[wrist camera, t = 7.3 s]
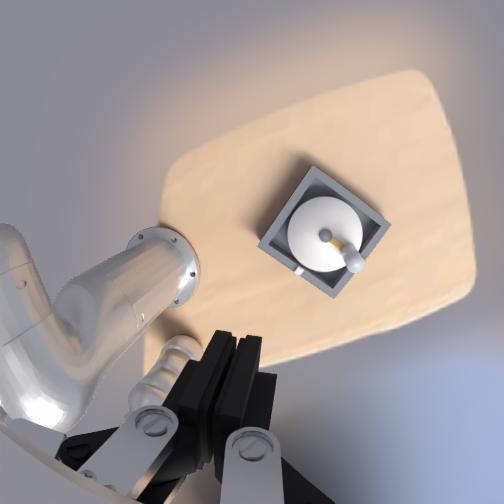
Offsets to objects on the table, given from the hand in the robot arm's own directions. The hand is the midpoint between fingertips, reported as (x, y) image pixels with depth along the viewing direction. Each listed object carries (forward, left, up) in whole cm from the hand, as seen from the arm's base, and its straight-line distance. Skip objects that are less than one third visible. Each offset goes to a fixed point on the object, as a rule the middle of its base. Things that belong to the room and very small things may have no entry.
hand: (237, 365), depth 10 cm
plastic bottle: (-26, +1, -29) cm, 39 cm away
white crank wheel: (+2, -5, -27) cm, 28 cm away
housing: (+2, -5, -29) cm, 29 cm away
